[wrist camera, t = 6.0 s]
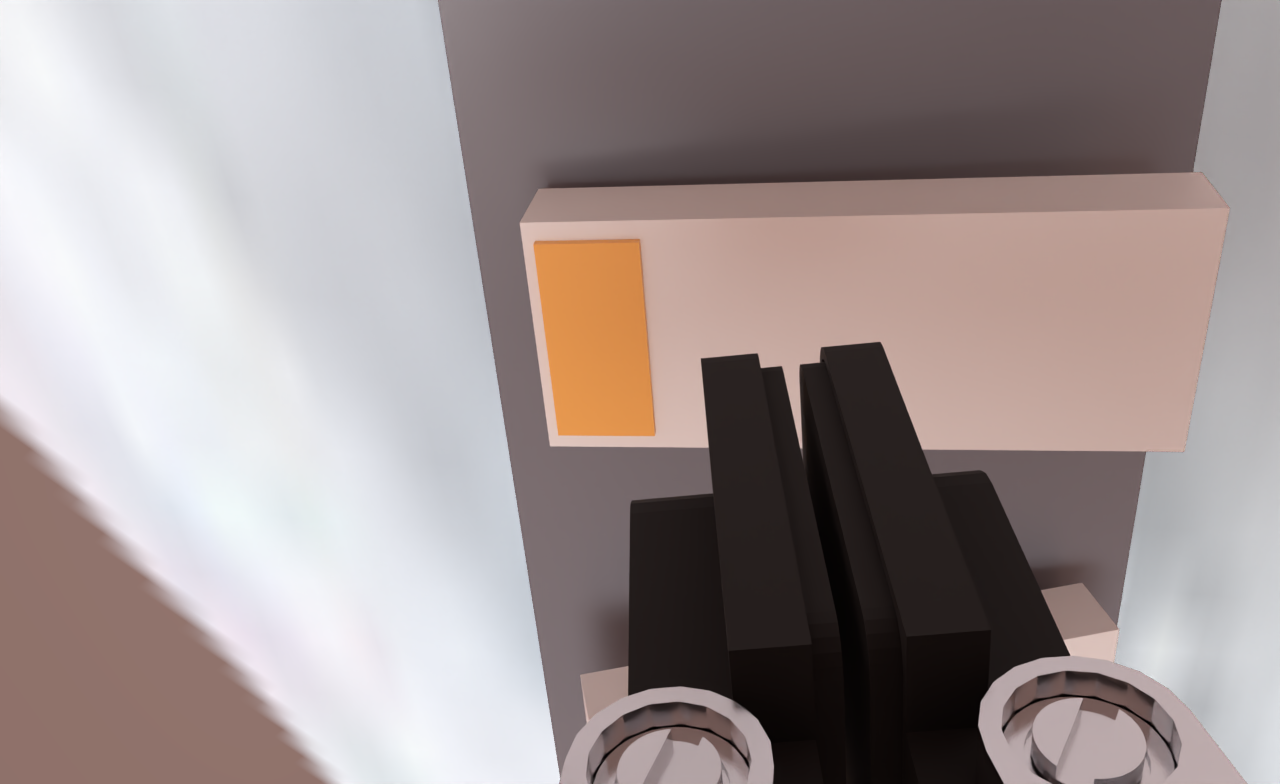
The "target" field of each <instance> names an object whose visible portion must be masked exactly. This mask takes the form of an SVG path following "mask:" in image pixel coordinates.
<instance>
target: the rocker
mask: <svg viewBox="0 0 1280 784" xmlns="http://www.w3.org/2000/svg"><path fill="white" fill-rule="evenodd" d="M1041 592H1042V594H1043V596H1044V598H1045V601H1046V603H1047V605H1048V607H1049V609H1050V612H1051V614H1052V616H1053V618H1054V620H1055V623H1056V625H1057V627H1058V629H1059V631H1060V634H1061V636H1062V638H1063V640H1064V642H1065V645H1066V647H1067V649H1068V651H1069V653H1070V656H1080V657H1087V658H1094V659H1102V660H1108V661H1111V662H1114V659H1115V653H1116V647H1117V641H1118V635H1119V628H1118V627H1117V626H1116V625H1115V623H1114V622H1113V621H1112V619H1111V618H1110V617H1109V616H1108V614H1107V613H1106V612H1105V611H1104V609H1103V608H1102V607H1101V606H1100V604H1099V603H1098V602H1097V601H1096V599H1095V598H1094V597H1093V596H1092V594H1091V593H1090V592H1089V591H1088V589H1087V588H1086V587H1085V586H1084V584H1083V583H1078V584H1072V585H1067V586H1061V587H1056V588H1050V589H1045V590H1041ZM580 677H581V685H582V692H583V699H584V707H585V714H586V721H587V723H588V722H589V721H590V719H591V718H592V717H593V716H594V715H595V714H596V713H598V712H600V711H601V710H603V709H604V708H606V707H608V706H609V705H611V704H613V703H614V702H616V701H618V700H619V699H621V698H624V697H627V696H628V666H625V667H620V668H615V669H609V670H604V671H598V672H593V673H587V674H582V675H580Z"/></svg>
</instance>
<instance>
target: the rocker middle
mask: <svg viewBox="0 0 1280 784" xmlns="http://www.w3.org/2000/svg"><path fill="white" fill-rule="evenodd" d="M1229 210H1230V208H1229V206H1228V205H1227V204H1226V203H1225V201H1224V200H1223V199H1222V197H1221V196H1220V195H1219V194H1218V192H1217V191H1216V190H1215V188H1214V187H1213V186H1212V184H1211V183H1210V182H1209V181H1208V179H1207V178H1206V177H1205V175H1204V174H1203V173H1202V172H1188V173H1148V174H1108V175H1068V176H1028V177H988V178H948V179H907V180H867V181H827V182H787V183H747V184H707V185H667V186H627V187H587V188H547V189H538V191H537V192H536V194H535V196H534V198H533V200H532V201H531V203H530V205H529V207H528V209H527V210H526V212H525V214H524V216H523V218H522V219H521V221H520V229H521V237H522V244H523V251H524V259H525V266H526V273H527V281H528V288H529V295H530V303H531V310H532V317H533V325H534V332H535V339H536V347H537V354H538V362H539V369H540V376H541V384H542V391H543V398H544V406H545V413H546V420H547V428H548V435H549V442H550V446H569V447H685V448H709V445H708V434H707V423H706V412H705V401H704V390H703V379H702V368H701V358H710V357H721V356H732V355H743V354H753V353H758V356H759V361H760V366H761V368H766V367H777V366H782V368H783V372H784V376H785V381H786V385H787V390H788V394H789V399H790V404H791V408H792V413H793V417H794V422H795V427H796V431H797V436H798V440H799V445H800V448H802V428H801V405H800V382H799V367H800V364H809V363H820V350H821V347H829V346H839V345H850V344H861V343H872V342H881V344H882V346H883V348H884V350H885V353H886V356H887V358H888V361H889V363H890V366H891V369H892V371H893V374H894V376H895V379H896V382H897V384H898V387H899V390H900V392H901V395H902V397H903V400H904V403H905V405H906V408H907V411H908V413H909V416H910V418H911V421H912V424H913V426H914V429H915V431H916V434H917V437H918V439H919V442H920V445H921V447H922V450H1036V451H1152V452H1184V451H1185V445H1186V440H1187V435H1188V429H1189V424H1190V419H1191V413H1192V408H1193V402H1194V397H1195V392H1196V386H1197V381H1198V376H1199V370H1200V365H1201V360H1202V354H1203V349H1204V344H1205V338H1206V333H1207V328H1208V322H1209V317H1210V311H1211V306H1212V301H1213V295H1214V290H1215V285H1216V279H1217V274H1218V269H1219V263H1220V258H1221V253H1222V247H1223V242H1224V237H1225V231H1226V226H1227V221H1228V215H1229Z"/></svg>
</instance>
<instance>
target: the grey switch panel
mask: <svg viewBox="0 0 1280 784" xmlns="http://www.w3.org/2000/svg"><path fill="white" fill-rule="evenodd" d="M1221 1H1222V0H438V3H439V10H440V16H441V22H442V29H443V35H444V42H445V48H446V54H447V61H448V67H449V73H450V80H451V86H452V92H453V99H454V105H455V111H456V118H457V124H458V131H459V137H460V143H461V150H462V156H463V162H464V169H465V175H466V181H467V188H468V194H469V200H470V207H471V213H472V220H473V226H474V232H475V239H476V245H477V251H478V258H479V264H480V270H481V277H482V283H483V290H484V296H485V302H486V309H487V315H488V321H489V328H490V334H491V340H492V347H493V353H494V359H495V366H496V372H497V379H498V385H499V391H500V398H501V404H502V410H503V417H504V423H505V429H506V436H507V442H508V448H509V455H510V461H511V468H512V474H513V480H514V487H515V493H516V499H517V506H518V512H519V518H520V525H521V531H522V537H523V544H524V550H525V557H526V563H527V569H528V576H529V582H530V588H531V595H532V601H533V607H534V614H535V620H536V626H537V633H538V639H539V646H540V652H541V658H542V665H543V671H544V677H545V684H546V690H547V696H548V703H549V709H550V715H551V722H552V728H553V735H554V741H555V747H556V754H557V760H558V766H559V773H560V778H561V774H562V770H563V766H564V763H565V759H566V756H567V754H568V752H569V750H570V748H571V746H572V743H573V741H574V739H575V737H576V735H577V733H578V732H579V731H580V730H581V729H582V728H583V727H584V726H585V725H586V724H587V721H586V714H585V707H584V699H583V692H582V685H581V677H580V675H582V674H587V673H593V672H598V671H604V670H609V669H615V668H620V667H625V666H628V649H629V557H630V504H631V501H632V500H642V499H653V498H665V497H676V496H688V495H699V494H711V493H713V489H712V478H711V467H710V456H709V448H685V447H569V446H550V442H549V435H548V428H547V420H546V413H545V406H544V398H543V391H542V384H541V376H540V369H539V362H538V354H537V347H536V339H535V332H534V325H533V317H532V310H531V303H530V295H529V288H528V281H527V273H526V266H525V259H524V251H523V244H522V237H521V229H520V221H521V219H522V218H523V216H524V214H525V212H526V210H527V209H528V207H529V205H530V203H531V201H532V200H533V198H534V196H535V194H536V192H537V191H538V189H547V188H587V187H627V186H667V185H707V184H747V183H787V182H827V181H867V180H907V179H948V178H988V177H1028V176H1068V175H1108V174H1148V173H1188V172H1193V168H1194V162H1195V156H1196V150H1197V144H1198V138H1199V132H1200V126H1201V120H1202V114H1203V108H1204V102H1205V96H1206V90H1207V84H1208V78H1209V72H1210V66H1211V60H1212V54H1213V48H1214V42H1215V36H1216V31H1217V25H1218V19H1219V13H1220V7H1221ZM800 450H801V454H802V459H803V451H802V448H800ZM923 452H924V455H925V458H926V460H927V463H928V465H929V468H930V471H931V473H932V474H940V473H952V472H963V471H975V470H981V471H983V472H985V473H986V474H987V476H988V477H989V479H990V481H991V482H992V484H993V486H994V489H995V491H996V493H997V495H998V497H999V500H1000V502H1001V504H1002V506H1003V508H1004V511H1005V513H1006V515H1007V517H1008V519H1009V522H1010V524H1011V526H1012V528H1013V530H1014V533H1015V535H1016V537H1017V539H1018V541H1019V544H1020V546H1021V548H1022V550H1023V552H1024V555H1025V557H1026V559H1027V561H1028V563H1029V566H1030V568H1031V570H1032V572H1033V574H1034V577H1035V579H1036V581H1037V583H1038V585H1039V588H1040V590H1045V589H1050V588H1056V587H1061V586H1067V585H1072V584H1078V583H1083V584H1084V586H1085V587H1086V588H1087V589H1088V591H1089V592H1090V593H1091V594H1092V596H1093V597H1094V598H1095V599H1096V601H1097V602H1098V603H1099V604H1100V606H1101V607H1102V608H1103V609H1104V611H1105V612H1106V613H1107V614H1108V616H1109V617H1110V618H1111V619H1112V621H1113V622H1114V623H1115V625H1116V626H1117V622H1118V616H1119V610H1120V604H1121V598H1122V592H1123V586H1124V580H1125V574H1126V568H1127V562H1128V556H1129V550H1130V544H1131V538H1132V532H1133V526H1134V520H1135V514H1136V509H1137V503H1138V497H1139V491H1140V485H1141V479H1142V473H1143V467H1144V461H1145V455H1146V451H1036V450H923Z"/></svg>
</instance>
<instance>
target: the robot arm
mask: <svg viewBox="0 0 1280 784" xmlns="http://www.w3.org/2000/svg"><path fill="white" fill-rule="evenodd" d="M701 368H702V379H703V390H704V401H705V412H706V423H707V434H708V445H709V456H710V467H711V478H712V489H713V493H711V494H699V495H688V496H676V497H665V498H653V499H642V500H632V501H631V504H630V557H629V649H628V696H627V697H624V698H621V699H619V700H618V701H616V702H614V703H613V704H611V705H609V706H608V707H606V708H604V709H603V710H601V711H600V712H598V713H596V714H595V715H594V716H593V717H592V718H591V719H590V721H589V722H588V723H587V724H586V725H585V726H584V727H583V728H582V729H581V730H580V731H579V732H578V733H577V735H576V737H575V739H574V741H573V743H572V746H571V748H570V750H569V752H568V754H567V756H566V759H565V763H564V766H563V770H562V774H561V778H560V782H559V784H1247V782H1246V781H1245V780H1244V779H1243V777H1242V776H1241V775H1240V773H1239V772H1238V771H1237V770H1236V768H1235V767H1234V766H1233V764H1232V763H1231V762H1230V760H1229V759H1228V758H1227V757H1226V755H1225V754H1224V753H1223V751H1222V750H1221V749H1220V747H1219V746H1218V745H1217V744H1216V742H1215V741H1214V740H1213V738H1212V737H1211V736H1210V735H1209V733H1208V732H1207V731H1206V729H1205V728H1204V727H1203V725H1202V724H1201V723H1200V722H1199V720H1198V719H1197V718H1196V716H1195V715H1194V714H1193V712H1192V711H1191V710H1190V709H1189V708H1188V707H1187V706H1186V705H1185V704H1184V703H1183V702H1182V701H1181V700H1180V699H1179V698H1178V697H1177V696H1176V695H1175V694H1174V693H1173V692H1172V691H1170V690H1169V689H1168V688H1167V687H1165V686H1163V685H1162V684H1160V683H1158V682H1157V681H1155V680H1153V679H1152V678H1150V677H1148V676H1146V675H1145V674H1143V673H1141V672H1140V671H1137V670H1134V669H1131V668H1128V667H1125V666H1122V665H1119V664H1117V663H1114V662H1111V661H1108V660H1102V659H1094V658H1087V657H1080V656H1070V653H1069V651H1068V649H1067V647H1066V645H1065V642H1064V640H1063V638H1062V636H1061V634H1060V631H1059V629H1058V627H1057V625H1056V623H1055V620H1054V618H1053V616H1052V614H1051V612H1050V609H1049V607H1048V605H1047V603H1046V601H1045V598H1044V596H1043V594H1042V592H1041V590H1040V588H1039V585H1038V583H1037V581H1036V579H1035V577H1034V574H1033V572H1032V570H1031V568H1030V566H1029V563H1028V561H1027V559H1026V557H1025V555H1024V552H1023V550H1022V548H1021V546H1020V544H1019V541H1018V539H1017V537H1016V535H1015V533H1014V530H1013V528H1012V526H1011V524H1010V522H1009V519H1008V517H1007V515H1006V513H1005V511H1004V508H1003V506H1002V504H1001V502H1000V500H999V497H998V495H997V493H996V491H995V489H994V486H993V484H992V482H991V481H990V479H989V477H988V476H987V474H986V473H985V472H983V471H981V470H975V471H963V472H952V473H940V474H932V473H931V471H930V468H929V465H928V463H927V460H926V458H925V455H924V452H923V450H922V447H921V445H920V442H919V439H918V437H917V434H916V431H915V429H914V426H913V424H912V421H911V418H910V416H909V413H908V411H907V408H906V405H905V403H904V400H903V397H902V395H901V392H900V390H899V387H898V384H897V382H896V379H895V376H894V374H893V371H892V369H891V366H890V363H889V361H888V358H887V356H886V353H885V350H884V348H883V346H882V344H881V342H872V343H861V344H850V345H839V346H829V347H821V350H820V363H809V364H800V367H799V382H800V405H801V428H802V451H803V459H802V454H801V450H800V445H799V440H798V436H797V431H796V427H795V422H794V417H793V413H792V408H791V404H790V399H789V394H788V390H787V385H786V381H785V376H784V372H783V368H782V366H777V367H766V368H761V366H760V361H759V356H758V353H753V354H743V355H732V356H721V357H710V358H701Z"/></svg>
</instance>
